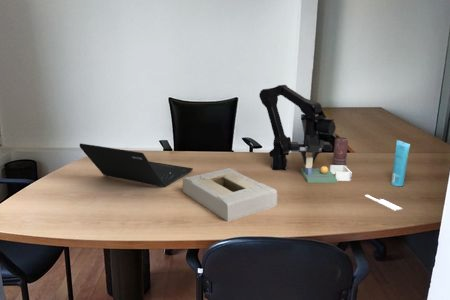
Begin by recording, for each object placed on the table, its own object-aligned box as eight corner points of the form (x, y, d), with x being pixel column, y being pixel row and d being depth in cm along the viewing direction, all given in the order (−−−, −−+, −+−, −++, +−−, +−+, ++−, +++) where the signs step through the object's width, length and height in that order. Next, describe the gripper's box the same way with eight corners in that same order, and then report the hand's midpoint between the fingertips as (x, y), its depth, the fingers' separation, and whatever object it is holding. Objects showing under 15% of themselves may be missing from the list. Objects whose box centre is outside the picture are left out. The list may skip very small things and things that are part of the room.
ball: (320, 175, 174) (321, 167, 173) (318, 172, 178) (319, 165, 177) (328, 175, 174) (329, 167, 173) (326, 172, 178) (327, 165, 177)
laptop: (193, 171, 182) (193, 132, 177) (145, 201, 150) (142, 153, 144) (137, 161, 196) (134, 124, 190) (81, 186, 163) (76, 142, 158)
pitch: (307, 182, 169) (307, 177, 168) (300, 171, 183) (301, 166, 183) (337, 182, 169) (337, 177, 169) (327, 171, 184) (328, 166, 183)
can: (346, 168, 188) (349, 140, 184) (333, 167, 190) (335, 139, 186) (345, 164, 194) (348, 137, 190) (332, 163, 195) (334, 136, 191)
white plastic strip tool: (374, 195, 158) (374, 192, 157) (404, 209, 145) (404, 207, 144) (364, 196, 156) (364, 194, 155) (394, 211, 143) (394, 209, 142)
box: (181, 194, 158) (227, 223, 132) (181, 176, 155) (227, 202, 130) (228, 183, 171) (277, 208, 145) (228, 166, 168) (278, 188, 143)
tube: (408, 186, 166) (414, 143, 160) (400, 188, 164) (406, 144, 158) (394, 180, 172) (400, 139, 167) (386, 182, 170) (392, 140, 165)
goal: (335, 180, 172) (336, 172, 171) (329, 173, 181) (330, 165, 180) (351, 180, 172) (351, 172, 171) (344, 173, 181) (344, 165, 180)
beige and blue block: (306, 175, 172) (307, 159, 170) (303, 170, 179) (304, 154, 177) (312, 175, 172) (313, 159, 170) (309, 170, 179) (310, 154, 177)
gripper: (293, 135, 162) (291, 170, 167) (337, 135, 163) (334, 170, 167) (288, 129, 173) (286, 162, 177) (330, 129, 173) (327, 162, 178)
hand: (308, 164), depth 175 cm, fingers closed on beige and blue block, 3 cm apart
